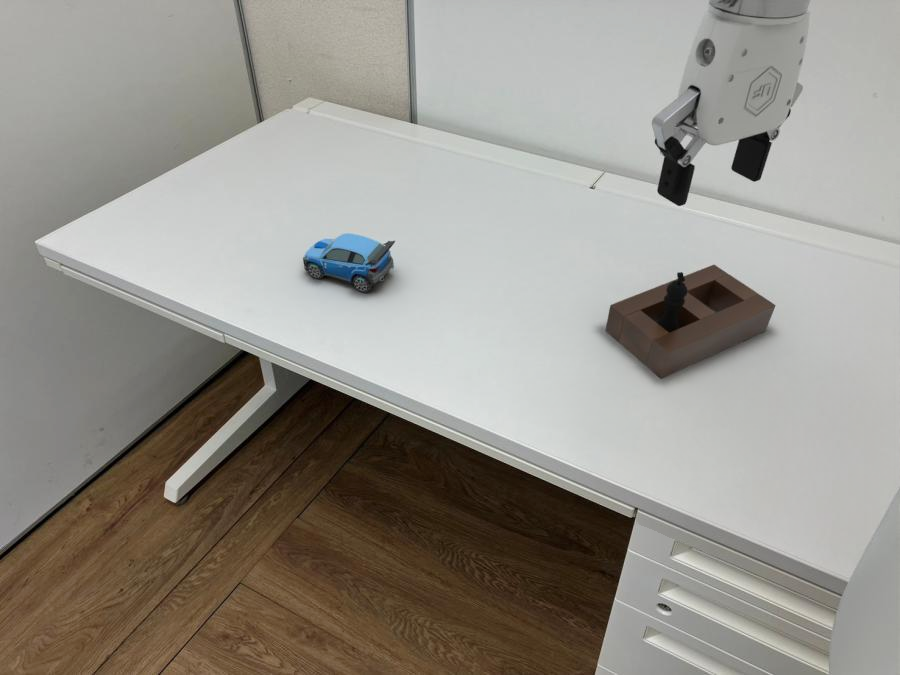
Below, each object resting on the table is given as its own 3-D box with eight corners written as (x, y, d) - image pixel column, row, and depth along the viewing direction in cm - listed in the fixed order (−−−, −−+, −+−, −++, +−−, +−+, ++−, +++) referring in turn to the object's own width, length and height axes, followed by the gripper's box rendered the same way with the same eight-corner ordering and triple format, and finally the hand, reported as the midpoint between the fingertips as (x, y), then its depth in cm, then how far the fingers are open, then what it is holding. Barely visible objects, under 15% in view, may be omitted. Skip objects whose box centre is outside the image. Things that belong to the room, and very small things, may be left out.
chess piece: (674, 327, 86) (693, 260, 80) (687, 351, 83) (708, 282, 76) (639, 330, 86) (655, 262, 79) (651, 354, 82) (669, 285, 76)
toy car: (322, 253, 98) (317, 218, 94) (399, 273, 94) (397, 237, 91) (299, 275, 94) (293, 239, 90) (378, 297, 90) (376, 261, 87)
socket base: (765, 330, 86) (775, 305, 83) (661, 379, 79) (668, 352, 77) (706, 289, 92) (714, 264, 90) (605, 330, 86) (610, 304, 83)
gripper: (717, 20, 50) (668, 228, 61) (871, -10, 57) (802, 182, 68) (646, -4, 55) (612, 192, 66) (795, -29, 62) (742, 153, 73)
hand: (708, 187), depth 67 cm, fingers open, 9 cm apart
